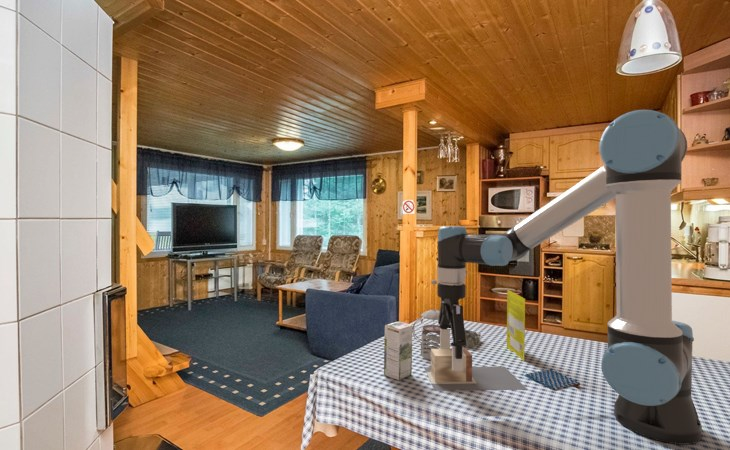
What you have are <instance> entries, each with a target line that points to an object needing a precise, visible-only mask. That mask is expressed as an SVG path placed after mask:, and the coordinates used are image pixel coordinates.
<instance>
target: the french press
mask: <svg viewBox="0 0 730 450" xmlns="http://www.w3.org/2000/svg"><path fill="white" fill-rule="evenodd" d="M430 284H432V285H437V284H438V280H437V279H433V280H431V281H430ZM439 313H440V310H437V309H430V310H426V311H423V312H422V313H421V315H420V316H421V317H419V318H417V319H416V320H415V322H414V323H413V324H412V326H413V328H412V331H413V332H412V336H413V337H414V339H415V340H416V341H418V342H419V343H420V355H421V357H422V359H425V360H430V361H431V349H440V329H441V328H440V325H438V324H425V325H424V326H422V331H421V338H419V337H418V336H417V335H416V332H415V326H416V323H418V322H419V321H420V323H421V324H423V322H424V319H427V320H431V321H439ZM431 333H434V334H431ZM436 334H437V335H436Z"/></svg>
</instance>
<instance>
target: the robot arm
mask: <svg viewBox="0 0 730 450" xmlns="http://www.w3.org/2000/svg"><path fill="white" fill-rule="evenodd" d="M598 145H599V146H598V147H599V149H598V150H599V154H600V158H601V160H602V162H603V164H602V166H601V167H599V168H598V169H596V170H594V171H593V172H592V173H590V174H588V175H587V176H586V177H585V178H583V179H581V180H580V181H578V182H577V183H576V184H574V185H573V186H571V187H570V188H568V189H567V190H565V191H564V192H562V193H561V194H559V195H558V196H556V197H555V198H554V199H552V200H550V201H549V202H547V203H546V204H544V205H543V206H542V207H540V208H539V209H537V210H536V211H534V212H532V214H530V215H528V216H527V217H525V218H524V219H523V220H521V221H519V222H518V223H517V224H515V225H514V226H513V227H511V228H509V229H508V230H507V231H505V232H503V233H495V234H493V233H492V234H491V233H490V234H470V233H467V228H466V227H465V226H459V225H457V226H456V225H450V226H449V225H447V226H446V225H445V226H443V225H442V226H439V228H438V231H437V234H438V235H437V241H436V243H437V269H436V271H437V274H436V275H437V278H436V281H437V284H436V285H437V288H436V289H437V290H436V291H437V292H436V293H437V296H438V298H440V307H439V311H440V313H439V320H437V321H438V322H437V323H438V325H439V326H440V328H441V329H440V344H439V345H440V348H439V349H452V370H453V371H463V349H464V347H465V346H466V337H465V329H466V328H465V320H464V306H463V305H460V304H459V303H460V302H459V301H460V300H463V299H465V298H466V291H467V290H466V284H465V282H466V279H467V278H466V277H467V276H466V275H467V274H468V270H467V269H466V268H467V267H466V266H467V263H468V264H469V263H471V264H478V265H486V266H491V267H495V266H499V267H504V266H507V265H508V264H509V262H511V261H514V262H515V261H518V260H520V259H522V258H524V257H525V256H527V254H528V253H529V251H531V250H532V249H534V248H535V247H537V246H539V245H540V244H542V243H544V242H545V241H546V240H549V239H550V238H551V237H553V236H556V235H557V234H559V233H560V232H562V231H564V230H565V229H567V228H569V227H570V226H572V225H573V224H575V223H577V222H579V221H580V220H582V219H583V218H584V217H587V216H588V215H590V214H591V213H593V212H595V211H596V210H598V209H599V208H601V207H603V206H604V205H606V204H608V203H610V202H611V201H613V200H614V199H615V278H616V279H615V282H616V283H615V289H616V290H615V292H616V297H615V298H616V300H615V301H616V306H615V307H616V314H615V316H614V317H612V318H611V319H609V321H607V349H605V351H604V353H603V354H602V358H601V371H602V375H603V377H604V379H605V381H606V383H607V384H608V386H609V387H610V388H612V389H613V391H615V393H617V394H618V395H617V398H616V400H615V401H614V406H613V413H614V414H613V416H614V418H615V419H616V420H617V421H618V422H619V424H621V425H623V426H624V427H625V428H626V429H629V430H630V431H633V432H634V433H637V434H639V435H641V436H643V437H647V438H650V439H653V440H657V441H660V442H665V443H670V444H676V445H691V444H696V443H698V442H700V441H701V440H702V438H703V437H702V436H703V428H702V427H703V426H702V423H701V420H700V419H699V415H698V412H697V409H696V406H695V403H694V401H693V398H692V383H693V382H692V378H693V372H692V371H693V342H694V341H695V338H694V337H693V336H694V335H693V328H692V327H691V325H689V324H687V323H684V322H680V321H676V320H673V312H672V309H673V308H672V307H673V306H672V303H673V302H672V301H673V300H672V299H673V298H672V297H673V295H672V292H673V291H672V290H673V289H672V287H673V286H672V285H673V284H672V283H673V281H672V198H671V197H672V196H671V194H672V191H673V190H675V188H677V186H679V185H680V184H681V183H682V162H683V161H684V159H685V157H686V155H687V152H688V140H687V137H686V135H685V133H684V132H683V131H682V129H681V128H679V126H678V124H677V123H676V121H675V120H674V119H673V118H672V117H670V116H669V115H668V114H665V113H663V112H659V111H657V110H653V109H636V110H632V111H629V112H626V113H624V114H621V115H619V116H618V117H617V118H615V119H614V120H613V121H611V122H610V123H609V124H608V125H607V126H606V128H605V129H604V131H603V132H602V134H601V137H600V140H599V144H598ZM451 336H452V342H451ZM458 340H460V341H458Z"/></svg>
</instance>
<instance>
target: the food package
mask: <svg viewBox="0 0 730 450" xmlns="http://www.w3.org/2000/svg"><path fill="white" fill-rule="evenodd" d="M506 298H507V300H506V301H507V302H506V303H507V304H506V347H507V349H508V350H509V351H510V352H514V354H516V355H517V356H518V357H519V358H520V359H521V360H522V361H523V362H525V345H526V344H525V343H526V342H525V341H526V339H525V336H526V335H525V334H526V333H525V332H526V331H525V330H526V298H524V297H523V296H521V295H519V294H517V293H515V292H513V291H512V290H509V289H507V294H506Z"/></svg>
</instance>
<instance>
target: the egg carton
mask: <svg viewBox="0 0 730 450" xmlns="http://www.w3.org/2000/svg"><path fill="white" fill-rule="evenodd" d="M481 336H482V334H481V333H477V332H476V331H472V330H470V329H469V330H468V329H466V328H465V337H466V346H464V347H465V348H466V349H467V348H474V346H476V345H477V343H480V342H481V340H480V338H481ZM458 341H460V340H458Z"/></svg>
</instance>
